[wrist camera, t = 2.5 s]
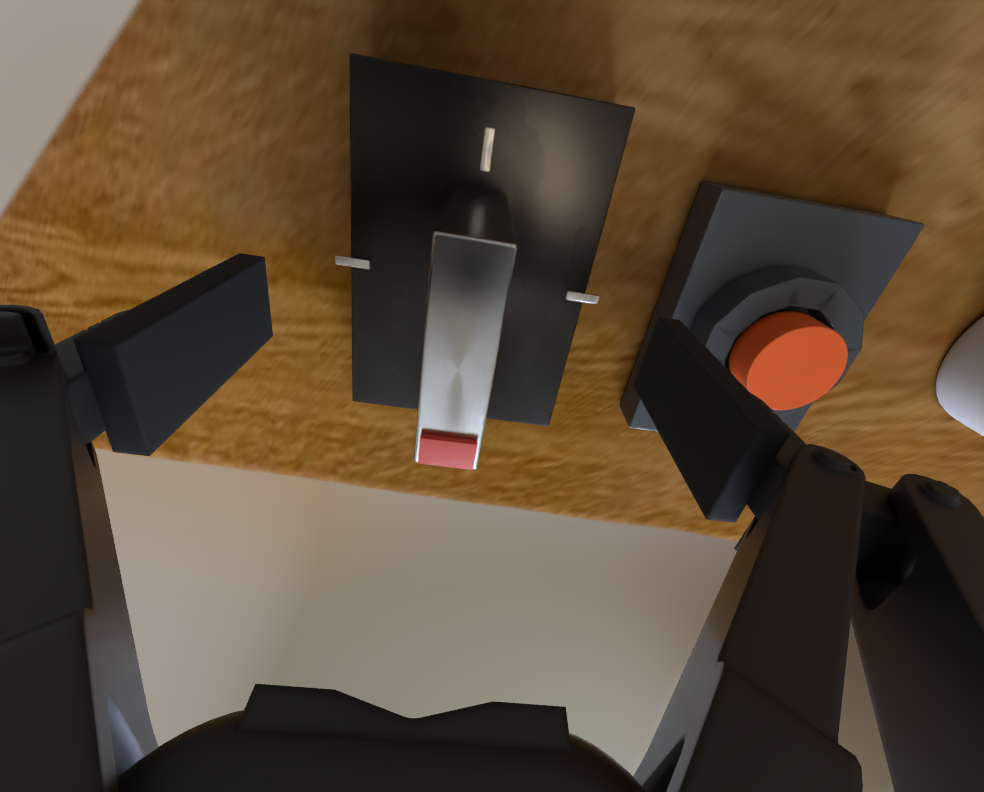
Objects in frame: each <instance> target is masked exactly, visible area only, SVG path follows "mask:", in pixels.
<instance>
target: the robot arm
mask: <svg viewBox="0 0 984 792" xmlns="http://www.w3.org/2000/svg"><path fill="white" fill-rule="evenodd" d="M272 336H273V333H272V323H271V314H270V304H269V295H268V285H267V276H266V266H265V257H261V256H254V255H248V254H241V253H239V254H237V255H235V256H233V257H231V258H230V259H228V260H226V261H224V262H222V263H220V264H218V265H216V266H214V267H212V268H210V269H208V270H206V271H204V272H202V273H200V274H198V275H196V276H195V277H193V278H191V279H189V280H187V281H185V282H183V283H181V284H179V285H177V286H175V287H173V288H171V289H169V290H167V291H165V292H163V293H161V294H160V295H158V296H156V297H154V298H152V299H150V300H148V301H146V302H144V303H142V304H140V305H138V306H136V307H134V308H132V309H130V310H127V311H123V312H119V313H117V314H115V315H113V316H111V317H109V318H107V319H105V320H103V321H101V323H97V324H95V325H93V326H91V327H89V328H88V330H83V331H81V332H79V333H77V334H75V335H73V336H71V337H69V338H67V339H65V340H63V341H61V342H59V343H57V344H55V345H54V342H53V340H52V337H51V334H50V332H49V329H48V327H47V324H46V321H45V319H44V316H43V314H42V313H41V312H40V310H39V309H36V308H32V307H29V306H20V305H0V792H862V787H863V784H862V771H861V766H860V764H859V762H858V760H857V758H856V756H855V755H853V754H852V753H850V752H849V751H848V750H846V749H845V748H843V747H842V746H841V745H839V744H838V732H839V722H840V714H841V704H842V695H843V686H844V676H845V666H846V657H847V648H848V639H849V629H850V620H851V621H852V625H853V629H854V633H855V637H856V641H857V645H858V649H859V653H860V657H861V661H862V665H863V669H864V673H865V676H866V680H867V684H868V688H869V692H870V696H871V700H872V704H873V708H874V712H875V716H876V720H877V724H878V728H879V731H880V736H881V740H882V743H883V747H884V751H885V755H886V759H887V763H888V767H889V771H890V775H891V779H892V783H893V787H894V791H895V792H984V517H983V516H982V515H981V513H980V512H979V510H978V509H977V508H976V507H975V506H974V505H973V504H972V503H971V502H970V500H968V499H967V498H966V497H964V496H963V495H961V494H960V493H959V491H958V490H956V489H955V488H953V487H951V486H948V484H946V483H943V482H941V481H935V480H933V479H931V478H928V477H924V476H920V475H917V474H906V475H904V476H902V477H901V478H900V480H899V481H898V482H897V483H896V485H895V486H894V487H893V488H892V489H890V488H887V487H884V486H881V485H877V484H874V483H871V482H868V481H865V479H866V478H865V475H864V472H863V471H862V470H861V469H860V468H859V467H858V466H857V464H855V463H854V462H852V461H851V460H849V459H848V458H847V457H845V456H843V455H841V454H839V453H838V452H835V451H833V450H830V449H827V448H825V447H822V446H817V445H812V444H809V445H806V444H805V443H804V442H803V441H802V440H801V439H800V438H799V437H798V436H797V435H796V434H795V433H794V432H793V431H792V430H791V428H790V427H789V426H788V425H787V424H786V423H785V422H782V419H781V418H780V417H779V416H778V415H777V414H776V413H773V412H774V411H773V410H772V409H771V408H770V407H769V406H768V405H767V404H766V403H765V402H764V401H763V400H761V399H760V398H758V397H757V396H755V395H753V394H752V393H750V392H749V391H748V390H747V389H746V388H745V387H744V386H743V385H742V384H741V383H740V382H739V381H738V380H737V379H736V378H735V376H734V375H733V374H732V373H731V372H730V371H729V370H728V369H727V368H726V367H725V366H724V365H723V364H722V363H721V362H720V361H719V360H718V359H717V358H716V357H715V356H714V355H713V354H712V353H711V352H710V351H709V350H708V349H707V348H706V347H705V345H704V344H703V343H702V342H701V341H700V340H699V339H698V338H697V337H696V336H695V335H694V334H693V333H692V332H691V331H690V330H689V329H688V328H687V327H686V326H685V325H684V324H683V323H682V322H681V321H680V320H677V319H670V318H663V317H658V320H657V322H656V325H655V328H654V330H653V333H652V336H651V339H650V341H649V344H648V347H647V349H646V352H645V355H644V357H643V360H642V363H641V366H640V368H639V371H638V374H637V376H636V379H635V382H634V385H633V386H634V388H635V390H636V392H637V394H638V395H639V397H640V399H641V401H642V403H643V405H644V406H645V408H646V410H647V412H648V414H649V416H650V417H651V419H652V421H653V423H654V425H655V427H656V428H657V430H658V432H659V434H660V436H661V438H662V439H663V441H664V443H665V445H666V447H667V448H668V450H669V452H670V454H671V456H672V458H673V459H674V461H675V463H676V465H677V467H678V469H679V470H680V472H681V474H682V476H683V478H684V480H685V481H686V483H687V485H688V487H689V489H690V491H691V492H692V494H693V496H694V498H695V500H696V502H697V503H698V505H699V507H700V509H701V511H702V513H703V514H704V516H705V518H706V519H709V520H717V521H726V522H736V521H737V519H738V517H739V516H740V514H741V512H742V511H743V509H744V508H745V506H746V504H747V505H748V506H749V508H750V509H751V511H752V512H753V514H754V515H755V517H754V519H753V520H752V522H751V523H750V525H749V526H748V528H747V529H746V531H745V533H744V534H743V536H742V537H741V539H740V540H739V542H738V544H737V545H736V547H735V548H734V549H735V550H737V553H736V555H735V557H734V560H733V562H732V564H731V566H730V568H729V570H728V573H727V575H726V577H725V580H724V582H723V584H722V586H721V588H720V591H719V593H718V595H717V597H716V600H715V602H714V604H713V606H712V608H711V611H710V613H709V615H708V617H707V619H706V622H705V624H704V626H703V628H702V631H701V633H700V635H699V637H698V640H697V642H696V644H695V646H694V648H693V651H692V653H691V655H690V657H689V660H688V662H687V664H686V666H685V669H684V671H683V673H682V675H681V678H680V680H679V682H678V684H677V686H676V689H675V691H674V693H673V695H672V698H671V700H670V702H669V704H668V707H667V709H666V711H665V713H664V715H663V718H662V720H661V722H660V724H659V727H658V729H657V731H656V733H655V736H654V738H653V740H652V742H651V745H650V747H649V749H648V751H647V753H646V755H645V757H644V759H643V760H642V762H641V764H640V766H639V767H638V769H637V771H636V773H635V774H634V776H632V775H631V774H630V773H629V772H628V771H626V770H625V769H624V768H623V767H622V766H621V765H620V764H619V763H618V762H616V761H615V760H614V759H613V758H612V757H610V756H609V755H607V754H606V753H605V752H603V751H602V750H600V749H599V748H598V747H596V746H595V745H593V744H591V743H589V742H587V741H586V740H583V739H582V738H580V737H578V736H576V735H573V734H571V733H569V730H568V722H567V714H566V707H558V706H546V705H531V704H519V703H506V702H489V703H484V704H480V705H475V706H471V707H466V708H462V709H458V710H453V711H449V712H444V713H440V714H435V715H431V716H426V717H422V718H413V719H412V718H406V717H403V716H401V715H398V714H396V713H393V712H391V711H388V710H385V709H383V708H380V707H378V706H375V705H372V704H370V703H367V702H365V701H362V700H360V699H357V698H355V697H352V696H349V695H347V694H344V693H342V692H339V691H336V690H331V689H318V688H305V687H291V686H278V685H265V684H255V686H254V689H253V691H252V693H251V696H250V698H249V700H248V703H247V705H246V707H245V710H243V711H237V712H233V713H230V714H227V715H224V716H221V717H218V718H215V719H212V720H209V721H207V722H205V723H203V724H201V725H198V726H196V727H194V728H192V729H189V730H187V731H186V732H184V733H182V734H180V735H178V736H177V737H175V738H173V739H171V740H170V741H168V742H166V743H164V744H163V745H161V746H160V747H158V744H157V741H156V739H155V735H154V733H153V729H152V725H151V722H150V718H149V714H148V709H147V704H146V699H145V694H144V689H143V684H142V679H141V674H140V669H139V664H138V659H137V654H136V649H135V644H134V639H133V634H132V629H131V624H130V619H129V614H128V609H127V604H126V599H125V594H124V589H123V585H122V579H121V574H120V569H119V564H118V559H117V554H116V549H115V544H114V539H113V534H112V529H111V524H110V519H109V514H108V509H107V504H106V499H105V494H104V489H103V484H102V479H101V474H100V470H99V464H98V459H97V454H96V452H95V449H94V446H93V444H92V440H94V439H95V438H96V437H97V436H99V435H100V434H101V433H103V432H104V431H105V430H106V433H107V436H108V439H109V441H110V444H111V447H112V450H113V452H118V453H127V454H136V455H144V456H150V455H151V454H152V453H153V452H154V451H155V450H156V449H157V448H158V447H159V446H160V445H161V444H162V443H163V442H165V441H166V440H167V439H168V438H169V437H170V436H171V435H172V434H173V433H174V432H175V431H176V430H177V429H178V428H179V427H180V426H181V425H182V424H183V423H184V422H185V421H186V420H187V419H188V418H189V417H190V416H191V415H192V414H193V413H194V412H195V411H196V410H197V409H198V408H199V407H200V406H202V405H203V404H204V403H205V402H206V401H207V400H208V399H209V398H210V397H211V396H212V395H213V394H214V393H215V392H216V391H217V390H218V389H219V388H220V387H221V386H222V385H223V384H224V383H225V382H226V381H227V380H228V379H229V378H230V377H231V376H232V375H233V374H234V373H235V372H236V371H237V370H238V369H240V368H241V367H242V366H243V365H244V364H245V363H246V362H247V361H248V360H249V359H250V358H251V357H252V356H253V355H254V354H255V353H256V352H257V351H258V350H259V349H260V348H261V347H262V346H263V345H264V344H265V343H266V342H267V341H268V340H269V339H270V338H271V337H272Z"/></svg>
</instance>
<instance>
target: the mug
mask: <svg viewBox="0 0 984 792" xmlns="http://www.w3.org/2000/svg"><path fill="white" fill-rule="evenodd" d="M936 393H937V397H938V400H939V403H940V404H941V406H942V407H943V408H944V409H945V411H946V412H948V413H949V414H950V415H951V416H952V417H954V418H955V419H956V420H958V421H960V422H961V423H963V424H964V425H966V426H968V427H969V428H971V429H972V430H974V431H976V432H977V433H979V434H981V435H982V436H984V316H983V317H982V318H980V319H979V320H978V321H977V322H975V323H974V324H973V325H972V326H971V327H970V328H969V329H968V330H967V331H966V332H965V333H964V334H963V335H962V336H961V337H960V338H959V339H958V340H957V341H956V343H955V344H954V345H953V346H952V348H951V349H950V351H949V352H948V353H947V355H946V357H945V358H944V360H943V362H942V364H941V367H940V369H939V372H938V376H937V380H936Z"/></svg>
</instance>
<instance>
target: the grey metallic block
mask: <svg viewBox="0 0 984 792" xmlns="http://www.w3.org/2000/svg"><path fill="white" fill-rule="evenodd" d="M516 252H517V243H516V238H515V234H514V229H513V224H512V219H511V214H510V209H509V204H508V199H507V196H506V195H501V194H496V193H490V192H484V191H478V190H472V189H466V188H460V187H456V189H455V191H454V193H453V195H452V197H451V199H450V201H449V203H448V205H447V207H446V209H445V211H444V213H443V215H442V217H441V219H440V221H439V223H438V225H437V227H436V228H435V230H434V232H433V237H432V249H431V261H430V273H429V285H428V297H427V309H426V321H425V333H424V345H423V357H422V369H421V381H420V393H419V405H418V417H417V429H416V441H415V453H414V461H415V462H418V463H420V464H428V465H437V466H445V467H454V468H462V469H471V470H473V469H476V468H477V467H478V461H479V456H480V450H481V445H482V439H483V434H484V428H485V423H486V417H487V412H488V406H489V401H490V395H491V390H492V384H493V379H494V373H495V368H496V362H497V357H498V351H499V346H500V340H501V335H502V329H503V324H504V318H505V313H506V307H507V301H508V296H509V290H510V285H511V279H512V274H513V268H514V263H515V257H516Z"/></svg>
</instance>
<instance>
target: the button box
mask: <svg viewBox="0 0 984 792" xmlns="http://www.w3.org/2000/svg"><path fill="white" fill-rule="evenodd" d="M923 227H924V224H923V223H920V222H916V221H911V220H907V219H903V218H899V217H895V216H891V215H887V214H881V213H875V212H870V211H864V210H859V209H853V208H848V207H842V206H836V205H831V204H825V203H820V202H814V201H809V200H803V199H797V198H792V197H786V196H781V195H775V194H769V193H764V192H758V191H753V190H747V189H742V188H736V187H730V186H725V185H719V184H714V183H708V182H701V184H700V187H699V190H698V192H697V195H696V198H695V201H694V203H693V206H692V209H691V212H690V214H689V217H688V220H687V223H686V225H685V228H684V231H683V233H682V236H681V239H680V242H679V244H678V247H677V250H676V253H675V255H674V258H673V261H672V264H671V266H670V269H669V272H668V275H667V277H666V280H665V283H664V285H663V288H662V291H661V294H660V296H659V299H658V302H657V305H656V307H655V310H654V313H653V316H652V318H651V321H650V324H649V327H648V329H647V332H646V335H645V338H644V340H643V343H642V346H641V348H640V351H639V354H638V357H637V359H636V362H635V365H634V368H633V370H632V373H631V376H630V379H629V381H628V384H627V387H626V390H625V392H624V395H623V398H622V400H621V403H620V408H621V410H622V413H623V415H624V417H625V419H626V422H627V424H628V426H629V427H630V428H637V429H644V430H652V431H658V430H657V428H656V427H655V425H654V423H653V421H652V419H651V417H650V416H649V414H648V412H647V410H646V408H645V406H644V405H643V403H642V401H641V399H640V397H639V395H638V394H637V392H636V390H635V388H634V386H633V385H634V382H635V379H636V376H637V374H638V371H639V368H640V366H641V363H642V360H643V357H644V355H645V352H646V349H647V347H648V344H649V341H650V339H651V336H652V333H653V330H654V328H655V325H656V322H657V320H658V317H663V318H670V319H677V320H680V321H681V322H682V323H683V324H684V325H685V326H686V327H687V328H688V329H689V330H690V331H691V332H692V333H693V334H694V335H695V336H696V337H697V338H698V339H699V340H700V341H701V342H702V343H703V344H704V345H705V347H706V348H707V349H708V350H709V351H710V352H711V353H712V354H713V355H714V356H715V357H716V358H717V359H718V360H719V361H720V362H721V363H722V364H723V365H724V366H725V367H726V368H727V369H728V370H729V371H730V368H729V358H730V353H731V350H732V348H733V346H734V344H735V342H736V340H737V339H738V338H739V336H740V335H741V334H742V333H743V332H744V331H745V330H746V329H747V328H748V327H749V326H750V325H752V324H753V323H754V322H756V321H758V320H759V319H761V318H763V317H765V316H767V315H770V314H773V313H777V312H781V311H799V312H803V313H806V314H808V315H810V316H811V317H813V318H815V319H816V320H818V321H820V322H821V323H823V324H824V325H826V326H828V327H829V328H831V329H833V330H834V331H836V332H837V333H839V334H840V335H841V336H842V338H843V339H844V341H845V343H846V345H847V350H848V359H847V363H846V367H845V369H844V371H843V373H842V375H841V377H840V378H839V380H838V381H837V382H836V383H835V385H834V386H833V387H832V388H834V387H835V386H836V385H838V383H840V381H841V379H842V378H843V376H844V375H845V373H846V372H847V370H848V369H849V367H850V366H851V364H852V363H853V361H854V360H855V358H856V356H857V355H858V353H859V352H860V350H861V348H862V337H863V322H864V320H865V319H866V317H867V315H868V314H869V312H870V311H871V309H872V308H873V306H874V304H875V303H876V301H877V300H878V298H879V297H880V295H881V293H882V292H883V290H884V289H885V287H886V285H887V284H888V282H889V281H890V279H891V278H892V276H893V274H894V273H895V271H896V270H897V268H898V266H899V265H900V263H901V262H902V260H903V259H904V257H905V255H906V254H907V252H908V251H909V249H910V248H911V246H912V244H913V243H914V241H915V240H916V238H917V236H918V235H919V233H920V232H921V230H922V229H923ZM832 388H831V389H832ZM831 389H830V390H831ZM827 392H828V391H827ZM827 392H826V393H827ZM819 398H820V397H819ZM816 400H817V399H816ZM814 401H815V400H814ZM814 401H813V402H814ZM813 402H811V403H809V404H806V405H804V406H801V407H798V408H794V409H788V410H773V409H772V410H773V411H774V412H773V413H776V414H777V415H778V416H779V417H780V418H781V419H782V422H785V423H786V424H787V425H788V426H789V427H790V428H791V430H792V431H793V432H794V431H795V429H796V428H797V426H798V425H799V423H800V421H801V420H802V418H803V417H804V415H805V413H806V412H807V410H808V409H809V407H810V406H811V404H812V403H813Z"/></svg>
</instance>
